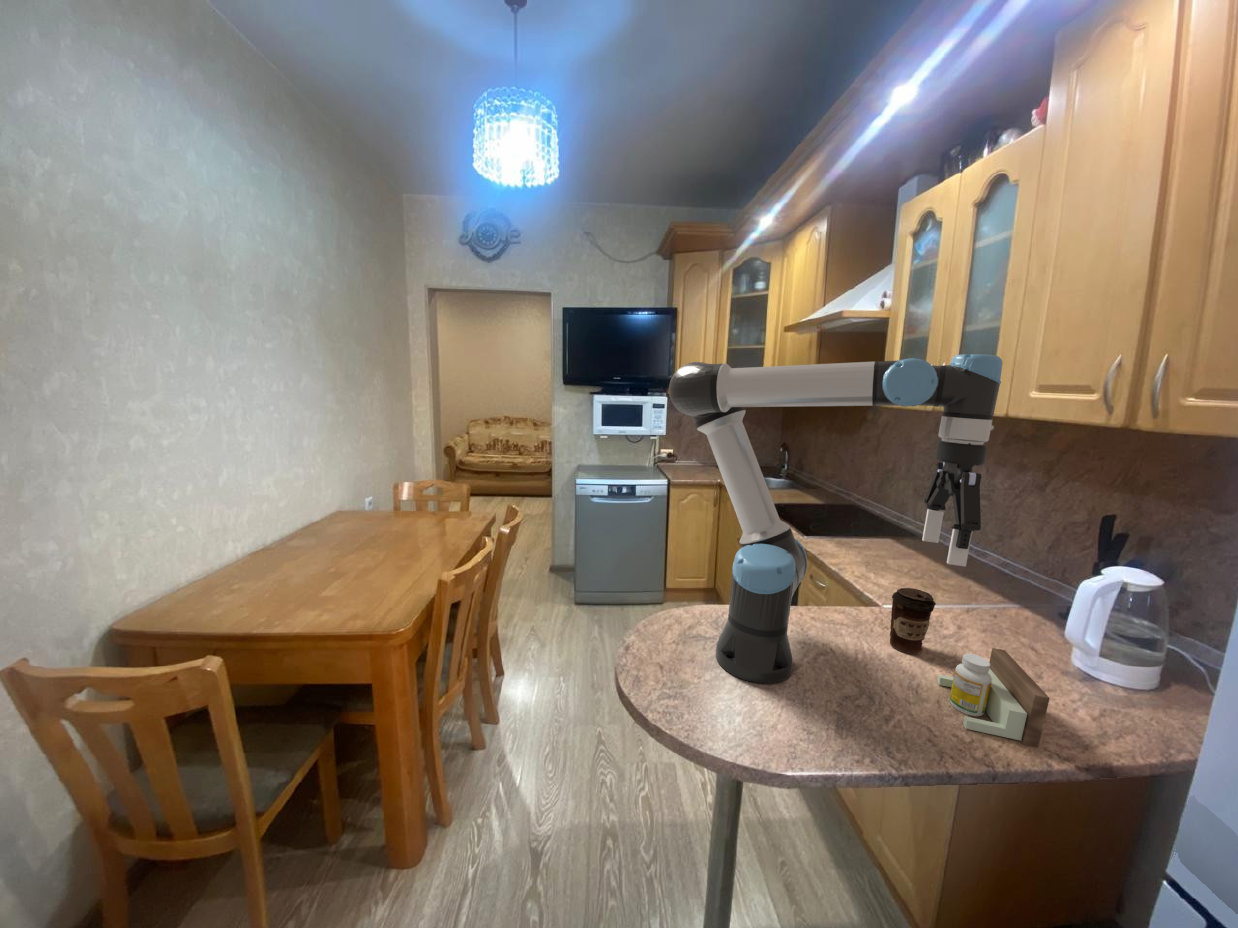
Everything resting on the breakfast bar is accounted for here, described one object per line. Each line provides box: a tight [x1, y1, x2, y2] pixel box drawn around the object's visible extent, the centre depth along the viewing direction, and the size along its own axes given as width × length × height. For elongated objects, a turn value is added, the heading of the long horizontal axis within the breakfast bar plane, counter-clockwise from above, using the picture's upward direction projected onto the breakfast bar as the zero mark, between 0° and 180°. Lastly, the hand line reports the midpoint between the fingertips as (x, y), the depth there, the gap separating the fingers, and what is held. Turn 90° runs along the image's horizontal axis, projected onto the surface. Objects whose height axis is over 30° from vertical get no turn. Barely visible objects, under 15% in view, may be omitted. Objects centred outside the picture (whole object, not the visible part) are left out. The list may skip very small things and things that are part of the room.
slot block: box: [936, 669, 1027, 742], centre depth 87 cm, size 8×14×5 cm, turn 164°
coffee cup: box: [889, 587, 937, 655], centre depth 106 cm, size 9×8×13 cm
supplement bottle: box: [949, 653, 992, 717], centre depth 87 cm, size 5×5×10 cm
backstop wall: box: [988, 647, 1051, 748], centre depth 85 cm, size 2×15×9 cm, turn 164°
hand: (942, 552), depth 91 cm, fingers open, 13 cm apart
